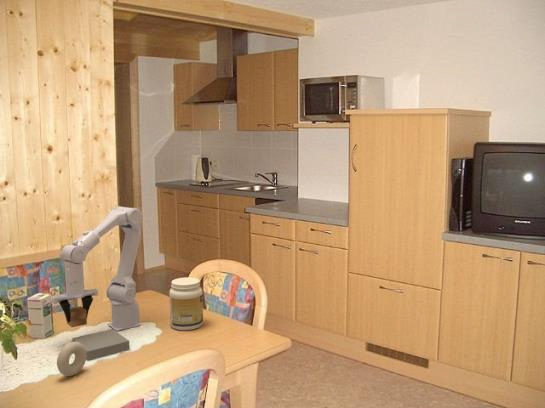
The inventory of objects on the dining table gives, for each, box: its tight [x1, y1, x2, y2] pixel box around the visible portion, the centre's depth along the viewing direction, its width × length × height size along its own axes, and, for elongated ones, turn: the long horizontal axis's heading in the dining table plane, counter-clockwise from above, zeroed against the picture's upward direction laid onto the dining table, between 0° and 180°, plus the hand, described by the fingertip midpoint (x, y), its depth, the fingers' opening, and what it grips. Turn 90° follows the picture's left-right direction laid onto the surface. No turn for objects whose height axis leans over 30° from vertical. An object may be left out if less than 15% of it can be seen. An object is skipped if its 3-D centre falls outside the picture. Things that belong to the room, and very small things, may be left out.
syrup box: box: [26, 292, 55, 340], centre depth 194 cm, size 6×6×14 cm
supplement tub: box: [168, 276, 204, 331], centre depth 203 cm, size 12×12×17 cm
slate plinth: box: [71, 328, 131, 362], centre depth 183 cm, size 14×14×3 cm
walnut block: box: [66, 305, 88, 328], centre depth 187 cm, size 5×5×5 cm
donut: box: [56, 341, 87, 377], centre depth 163 cm, size 10×3×10 cm, turn 152°
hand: (76, 319), depth 187 cm, fingers closed on walnut block, 5 cm apart
